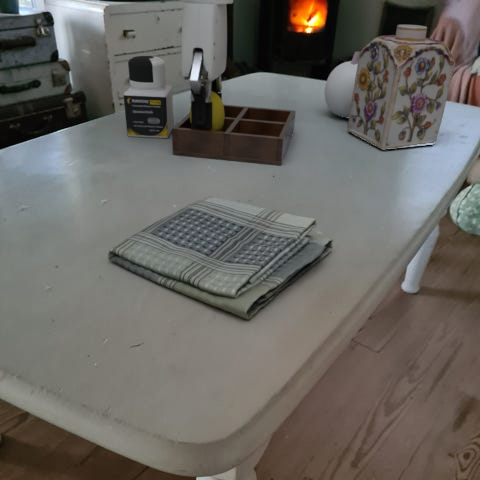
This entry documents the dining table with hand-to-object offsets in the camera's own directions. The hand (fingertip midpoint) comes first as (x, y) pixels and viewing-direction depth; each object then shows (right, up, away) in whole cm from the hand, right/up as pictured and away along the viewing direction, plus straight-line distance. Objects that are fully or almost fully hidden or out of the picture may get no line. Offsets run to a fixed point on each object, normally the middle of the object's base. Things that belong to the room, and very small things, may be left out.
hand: (206, 122), depth 83 cm
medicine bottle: (-11, +2, +9) cm, 14 cm away
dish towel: (+4, -25, -27) cm, 37 cm away
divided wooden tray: (+5, -2, +5) cm, 7 cm away
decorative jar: (+32, +1, +11) cm, 34 cm away
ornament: (+27, +9, +22) cm, 36 cm away
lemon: (0, -3, +2) cm, 3 cm away
